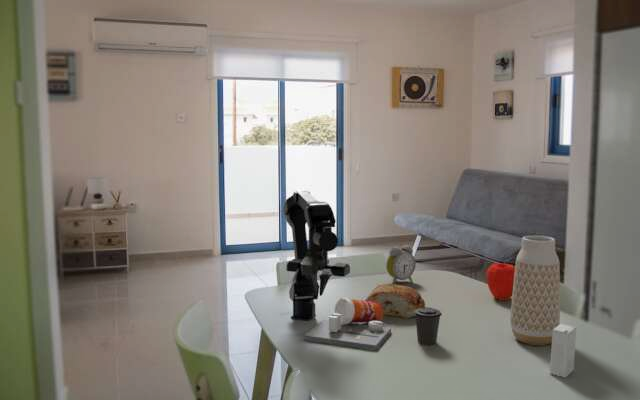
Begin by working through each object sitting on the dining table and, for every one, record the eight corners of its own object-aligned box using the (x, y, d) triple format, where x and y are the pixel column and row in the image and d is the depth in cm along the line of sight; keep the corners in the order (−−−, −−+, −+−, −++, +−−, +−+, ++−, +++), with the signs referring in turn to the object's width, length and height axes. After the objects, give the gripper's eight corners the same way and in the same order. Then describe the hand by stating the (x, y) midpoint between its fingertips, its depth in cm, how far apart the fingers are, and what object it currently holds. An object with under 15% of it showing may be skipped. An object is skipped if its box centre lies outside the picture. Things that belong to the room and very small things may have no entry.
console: (304, 340, 182) (304, 328, 182) (324, 323, 197) (324, 312, 196) (375, 350, 174) (376, 338, 173) (390, 332, 189) (391, 321, 188)
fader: (328, 331, 184) (328, 316, 184) (333, 327, 188) (333, 312, 187) (336, 332, 183) (336, 317, 183) (341, 328, 187) (341, 313, 186)
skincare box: (557, 367, 162) (559, 322, 161) (574, 371, 159) (577, 326, 158) (548, 374, 158) (551, 328, 156) (566, 379, 155) (569, 332, 153)
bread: (358, 314, 207) (359, 285, 206) (375, 300, 224) (375, 273, 223) (418, 322, 199) (419, 292, 198) (430, 306, 216) (431, 279, 215)
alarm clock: (393, 285, 243) (394, 248, 241) (382, 282, 248) (383, 245, 246) (415, 281, 249) (416, 245, 247) (404, 278, 255) (405, 242, 253)
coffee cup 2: (424, 349, 175) (425, 315, 174) (407, 340, 182) (408, 307, 181) (446, 344, 179) (447, 311, 177) (429, 335, 186) (430, 303, 185)
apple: (522, 297, 227) (524, 261, 225) (514, 305, 217) (515, 268, 215) (491, 292, 233) (492, 258, 232) (481, 300, 223) (482, 264, 222)
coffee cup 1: (389, 318, 195) (354, 316, 185) (372, 329, 199) (337, 328, 190) (380, 294, 199) (346, 291, 190) (365, 306, 204) (330, 304, 194)
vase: (557, 335, 187) (562, 235, 183) (559, 350, 174) (565, 244, 170) (510, 329, 191) (514, 232, 187) (508, 345, 178) (513, 241, 174)
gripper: (278, 247, 180) (278, 298, 182) (338, 252, 174) (337, 306, 175) (294, 240, 191) (294, 289, 193) (350, 245, 184) (350, 295, 186)
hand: (318, 295), depth 186 cm, fingers closed
